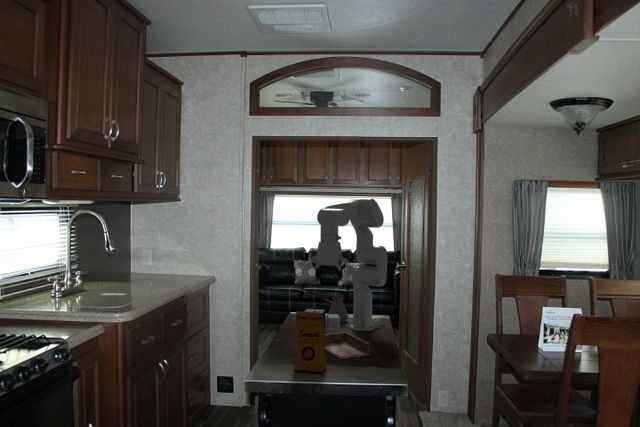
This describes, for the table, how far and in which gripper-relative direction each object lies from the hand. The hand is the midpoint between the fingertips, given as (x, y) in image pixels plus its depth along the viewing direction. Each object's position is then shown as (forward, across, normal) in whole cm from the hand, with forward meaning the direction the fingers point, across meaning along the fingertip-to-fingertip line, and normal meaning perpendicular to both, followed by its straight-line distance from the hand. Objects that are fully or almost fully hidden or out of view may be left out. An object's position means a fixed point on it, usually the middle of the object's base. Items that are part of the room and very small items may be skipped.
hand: (328, 279), depth 202 cm
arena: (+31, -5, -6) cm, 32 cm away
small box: (+31, +6, -22) cm, 39 cm away
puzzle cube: (+31, +20, -29) cm, 47 cm away
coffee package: (+31, -2, +22) cm, 39 cm away
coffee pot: (+31, +21, -53) cm, 65 cm away
